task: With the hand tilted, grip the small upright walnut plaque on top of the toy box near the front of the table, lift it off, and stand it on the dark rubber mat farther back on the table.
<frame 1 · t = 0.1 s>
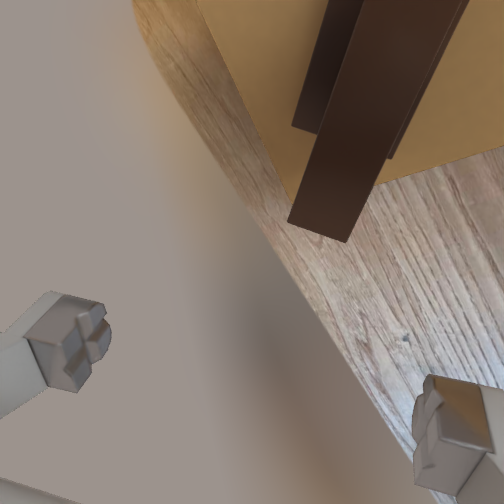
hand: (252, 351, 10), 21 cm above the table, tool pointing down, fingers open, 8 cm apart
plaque: (371, 62, 18), point 8 cm above the table, touching toy box
toy box: (376, 34, 24), on the table
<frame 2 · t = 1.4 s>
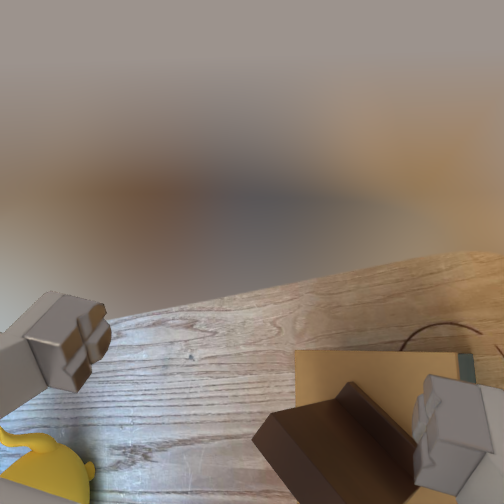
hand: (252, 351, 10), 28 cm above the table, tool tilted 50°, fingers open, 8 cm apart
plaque: (370, 447, 27), point 8 cm above the table, touching toy box
teapot: (73, 488, 57), on the table
toy box: (405, 428, 34), on the table
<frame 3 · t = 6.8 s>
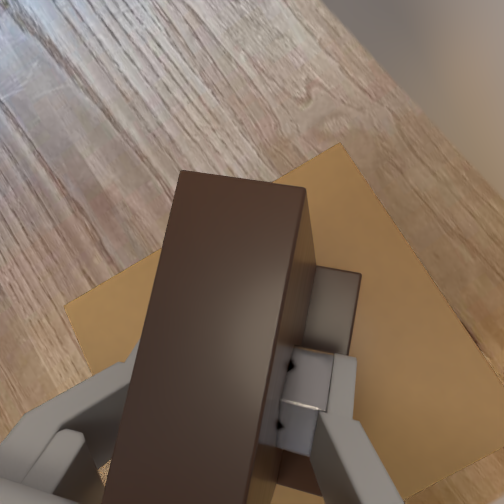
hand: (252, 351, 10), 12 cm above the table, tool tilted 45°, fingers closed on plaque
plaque: (270, 361, 14), point 8 cm above the table, touching gripper, toy box
toy box: (289, 348, 22), on the table
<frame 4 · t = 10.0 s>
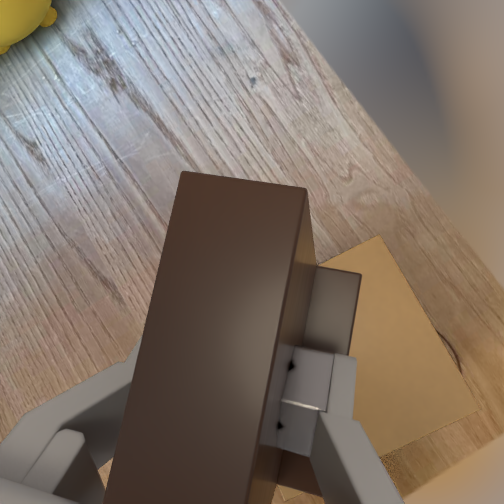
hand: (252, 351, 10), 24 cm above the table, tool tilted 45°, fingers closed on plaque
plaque: (271, 361, 14), point 19 cm above the table, touching gripper
teapot: (13, 6, 44), on the table
toy box: (330, 353, 33), on the table
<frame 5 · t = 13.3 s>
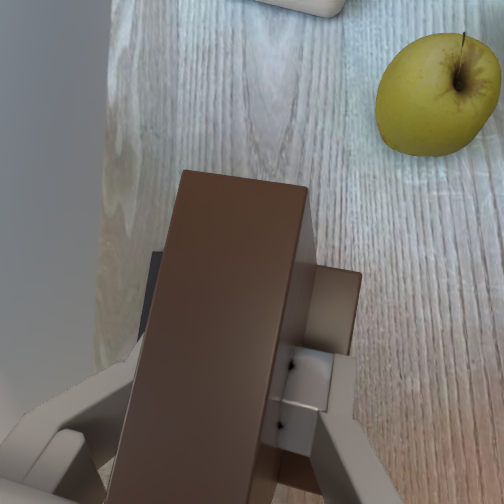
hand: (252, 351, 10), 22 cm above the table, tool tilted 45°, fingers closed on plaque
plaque: (271, 360, 15), point 18 cm above the table, touching gripper
apple: (418, 128, 34), on the table
mat: (196, 312, 34), on the table
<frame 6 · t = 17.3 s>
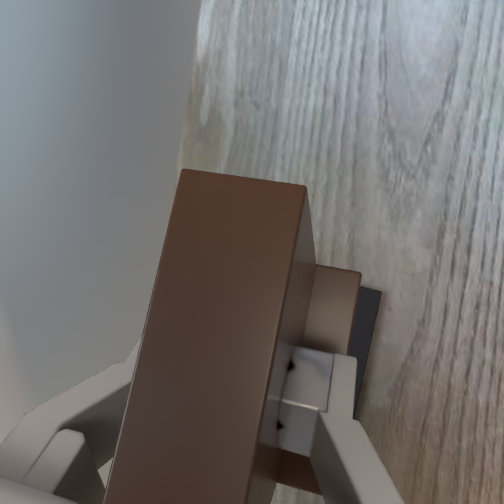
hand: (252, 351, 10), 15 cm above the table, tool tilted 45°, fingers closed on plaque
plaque: (271, 360, 15), point 11 cm above the table, touching gripper
mat: (289, 346, 25), on the table
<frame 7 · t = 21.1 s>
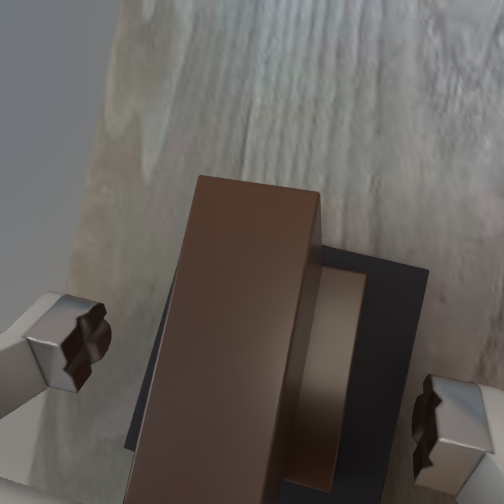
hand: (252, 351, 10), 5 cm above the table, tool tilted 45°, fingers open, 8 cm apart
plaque: (277, 360, 15), resting on mat
mat: (273, 360, 15), on the table
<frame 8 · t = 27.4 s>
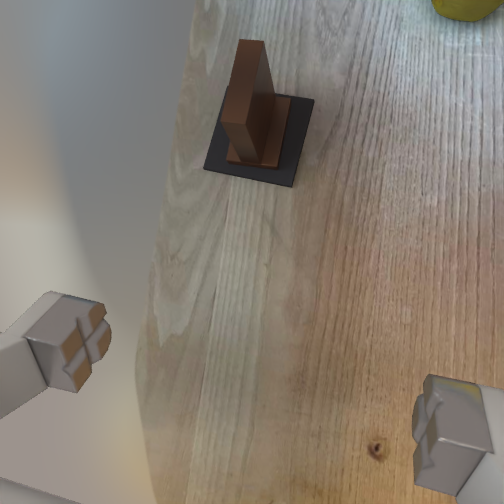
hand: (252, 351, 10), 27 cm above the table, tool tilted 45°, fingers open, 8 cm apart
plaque: (259, 133, 41), resting on mat
apple: (463, 2, 40), on the table
mat: (258, 135, 41), on the table
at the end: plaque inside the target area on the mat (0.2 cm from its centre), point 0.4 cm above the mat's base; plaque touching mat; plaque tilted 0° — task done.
